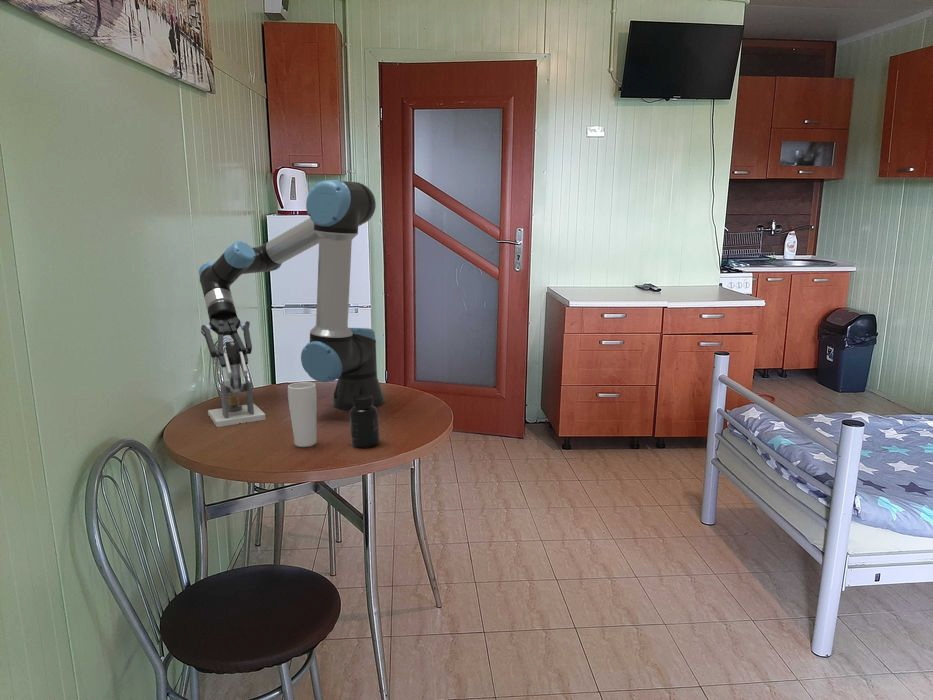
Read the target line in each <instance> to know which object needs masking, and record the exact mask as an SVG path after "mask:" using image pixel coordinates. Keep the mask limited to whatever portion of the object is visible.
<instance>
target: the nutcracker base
mask: <svg viewBox="0 0 933 700" xmlns="http://www.w3.org/2000/svg"><path fill="white" fill-rule="evenodd" d="M245 383H246V387H247V391H245V392H246V396H245V397H246V404H243V405H242V404H239V403H240V399H239V396H237V395H230V396H229V397H228V396H227V395H228V394H227V392H226V386H225V383H221V382H220V383H219V387H220V388H219V389H220V397H221V398H220V399H221V408H214V409H208V410H207V415H208V416H210V417H209V419H210V420H211V421H212V422H213V424H214V425H215V426H216V427H217V428H221V427H226V426H227V427H228V426H233V425H239V423H241V424H246V422H247V423H252V422H253V423H254V422H258V421H259V422H260V421H266V419H267V418H266V413H265V412H263V410H261V409H260V408H259V407H258V405H256V404H255V403H254V397H253V385H252V384H253V383H252V382H251V381H250V380H249V379H246V380H244V384H245Z"/></svg>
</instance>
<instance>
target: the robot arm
mask: <svg viewBox="0 0 933 700" xmlns="http://www.w3.org/2000/svg"><path fill="white" fill-rule="evenodd" d="M305 201H306V202H305V206H306V207H305V209H306V213H307V215H308V217H309V218H307V219H306V220H304V221H302V222H300V223H299V224H297V225H295V226H293V227H291V228H289V229H288V230H286V231H284V232H283V233H281V234H279V235H277V236H276V237H274V238H272V239H270V240H269V241H267V242H266V243H263V244H261V245H260V246H257V247H253V246H251V245H249V244H248V243H247V242H243V241H242V240H236V241H234V242H233V243H231V245H229V246H228V248H226V249H225V250H224V252H222V254H221V255H220V256H219V258H217V260H216V261H212V260H211V261H208V262H206V263H203V264H202V265H201V266H200V267H199V270H198V275H199V283H200V285H201V290H202V294H203V297H204V302H205V307H206V310H207V315H208V319H209V323H208V324H207V325H206V324H202V325H201V326H200V327H201V328H200V333H201V334H202V336H204V338H205V342H206V345H207V348H208V351H209V354H210V357H211V358H213V359H215V358H217V359H218V361H219V364H220V365H219V366H220V367H221V368H224V369H225V373H226V377H227V379H230V378H231V369H230V365H229V361H228V356H227V353H226V352H224V337H225V336H230V337H231V339H232V340H233V341H238V342H239V352H240V370H241V372H242V377H244V378H245V377H247V376H248V375H247V373H248V369H247V366H248V363H249V357H248V355H250V354H252V349H253V344H252V339H251V333H250V326H251V323H250V321H248V320H247V321H245V322H243V321H241V320H240V318H239V317H238V314H237V310H236V306H235V303H234V299H233V295H232V292H231V285H233V283H235V281H237V279H239V277H241V276H242V275H246V274H255V273H257V274H258V273H269V272H273V271H276V270H278V269H280V267H282V264H283V263H285V262H287V261H289V260H291V259H292V258H294V257H295V256H298V255H299V254H302V253H304V252H306V251H307V250H309V249H311V248H313V247H314V246H317V245H318V261H317V263H318V264H317V288H316V289H317V290H316V315H315V316H316V318H315V325H314V327H312V328H311V329H310V330H309V342H308V343H306V345H305V346H304V347H303V348H302V350H301V354H300V362H301V365H302V368H303V370H304V371H305V373H307V375H308V376H309V377H310V378H311V379H313V380H315V381H317V382H320V383H328V382H332V381H336V380H337V382H336V385H335V388H334V392H333V396H332V403H333V404H332V405H333V407H334V408H336V409H340V410H341V409H342V410H349V411H350V410H351V409H352V408H353V407H354V406H353V397H354V396H357V395H371V396H372V397H373V404H372V405H373V406H374V407H376V408H377V407H380V406H381V404H382V405H383V404H384V403H385V396H384V392H383V389H382V387H381V384H380V382H379V379H378V369H377V344H376V343H377V340H376V339H377V338H376V334H375V331H374V330H373V329H372V328H368V327H367V328H366V327H348V326H349V325H348V324H349V321H348V320H349V306H350V305H349V303H350V302H349V301H350V288H351V287H350V283H351V282H350V281H351V263H352V244H353V243H352V241H353V239H355V237H357V236H358V234H359V227H360V226H362V225H364V224H365V223H367V222H368V221H370V220H371V219H372V217H373V216H374V213H375V211H376V205H377V204H376V203H377V202H376V198H375V195H374V193H373V192H372V190H371V189H370V188H369V187H368V186H367V185H365V184H364V183H360V182H357V181H347V180H346V181H345V180H338V179H329V180H322V181H320V182H317V183H316V184H315V185H314V186H313V187H312V188H311V189H310V190H309V193H308V194H307V197H306V200H305ZM239 328H241V330H242V331H243V338H244V339H243V340H244V343H243V341H242V338H241V336H240V335H239V332H238V329H239ZM211 331H213V332H214V333H215V334H217V341H218V342H217V349H216V345H215V343H214V339H213V337H212V334H211Z"/></svg>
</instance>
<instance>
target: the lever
mask: <svg viewBox="0 0 933 700" xmlns="http://www.w3.org/2000/svg"><path fill="white" fill-rule="evenodd" d="M225 353H227V356H228V361H229V365H230V369H231V378H229V381H228V380H227V381H224V385H225V386H226V392H227V395H228V394H236V393H243V392H246V391H247V387H246V383H245V382H244V383H242V375H241V372H242V371H241V365H240V352H239V342H238V341H234V340H233V341H231V340H230V341H226V342H225Z"/></svg>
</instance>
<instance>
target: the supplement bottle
mask: <svg viewBox="0 0 933 700" xmlns="http://www.w3.org/2000/svg"><path fill="white" fill-rule="evenodd" d="M372 404H373V397H372V396H371V395H357V396H354V397H353V406H354V407H353V408H352V409H351V410H349V421H350V422H349V425H350V426H349V427H350V437H351V439H350V440H351V445H352V446H353V447H355V448H358V449H367V448H373V447H376V446H377V445H379V444H380V428H379V425H380V424H379V411H378V409H377V407H374V406H373V405H372Z"/></svg>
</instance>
